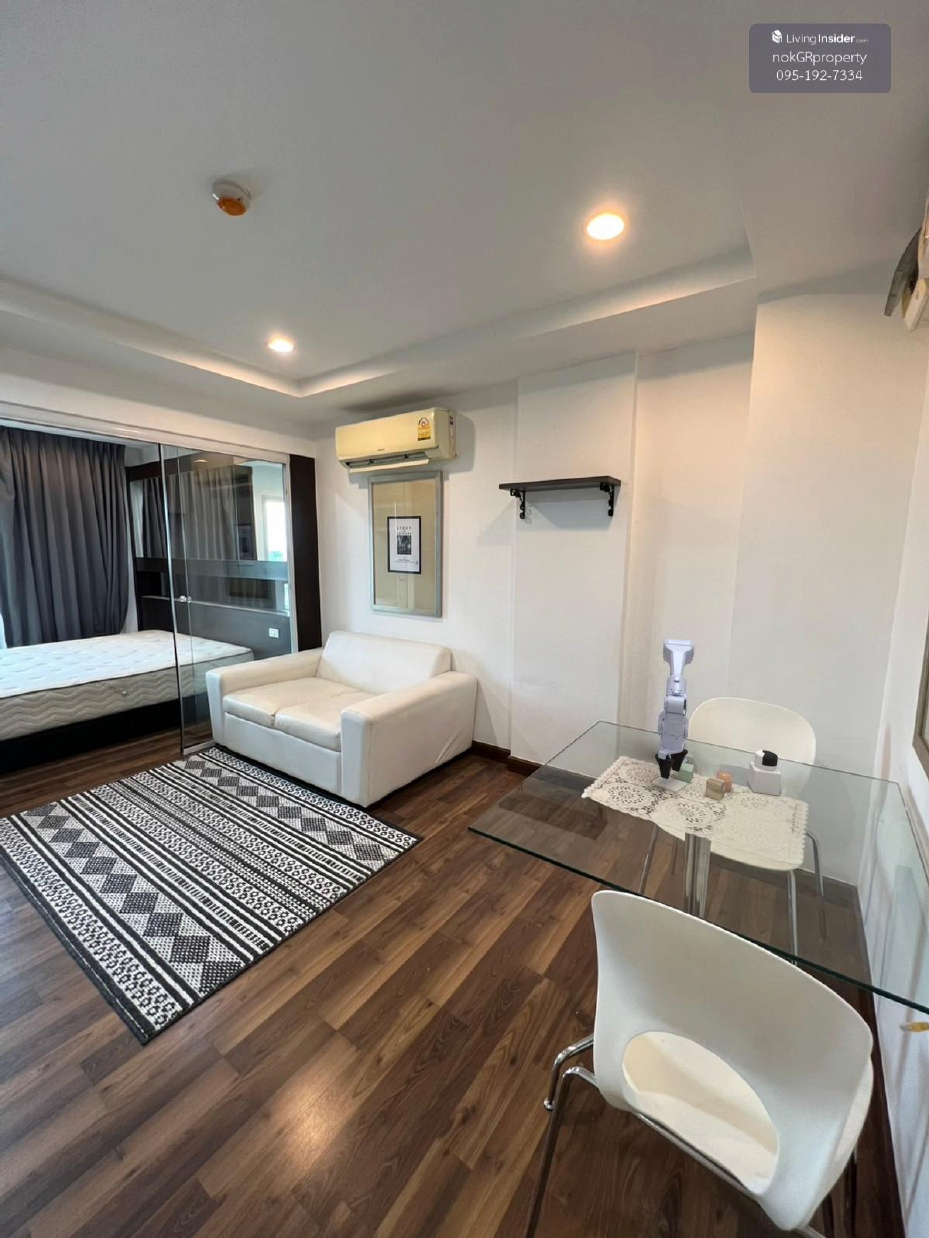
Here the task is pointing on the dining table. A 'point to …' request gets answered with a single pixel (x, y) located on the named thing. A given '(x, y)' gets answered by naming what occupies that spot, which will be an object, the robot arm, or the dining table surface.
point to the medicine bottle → (764, 773)
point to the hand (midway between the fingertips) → (670, 774)
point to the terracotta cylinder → (725, 779)
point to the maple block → (715, 788)
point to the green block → (685, 773)
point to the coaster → (670, 784)
